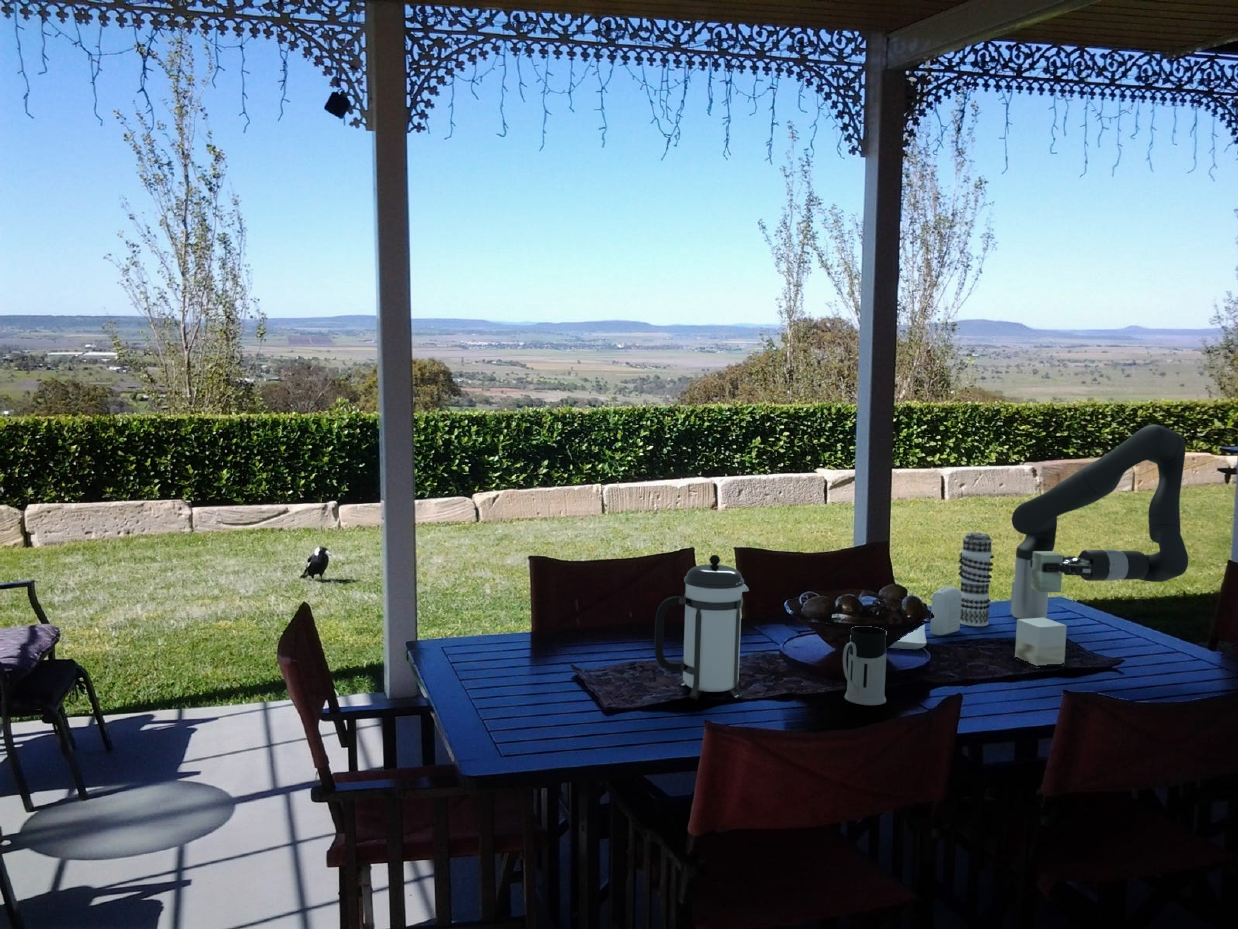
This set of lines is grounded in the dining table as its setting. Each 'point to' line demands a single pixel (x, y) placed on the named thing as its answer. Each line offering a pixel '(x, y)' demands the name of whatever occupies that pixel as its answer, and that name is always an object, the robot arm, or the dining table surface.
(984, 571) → the decorative candle
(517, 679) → the dining table surface
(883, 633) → the glass holder
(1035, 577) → the sage block
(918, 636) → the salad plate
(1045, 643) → the grey block
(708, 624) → the coffee press
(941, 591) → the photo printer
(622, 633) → the dining table surface
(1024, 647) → the ash block
